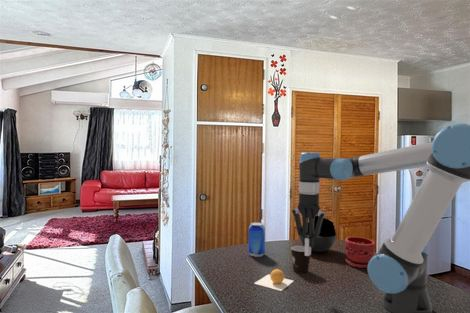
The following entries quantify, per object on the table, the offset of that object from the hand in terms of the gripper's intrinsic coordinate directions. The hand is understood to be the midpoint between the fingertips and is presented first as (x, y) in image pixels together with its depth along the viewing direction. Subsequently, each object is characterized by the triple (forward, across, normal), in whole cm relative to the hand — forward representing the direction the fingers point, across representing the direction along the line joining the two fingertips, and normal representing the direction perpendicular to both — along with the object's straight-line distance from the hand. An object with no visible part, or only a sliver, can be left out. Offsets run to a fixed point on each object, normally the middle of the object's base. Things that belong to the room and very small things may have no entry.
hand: (307, 254), depth 125 cm
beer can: (+14, +38, -27) cm, 49 cm away
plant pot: (+14, -9, -43) cm, 46 cm away
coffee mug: (+14, +11, -20) cm, 27 cm away
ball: (+11, +13, 0) cm, 17 cm away
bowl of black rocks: (+14, +15, -52) cm, 56 cm away
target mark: (+14, +14, 0) cm, 20 cm away
